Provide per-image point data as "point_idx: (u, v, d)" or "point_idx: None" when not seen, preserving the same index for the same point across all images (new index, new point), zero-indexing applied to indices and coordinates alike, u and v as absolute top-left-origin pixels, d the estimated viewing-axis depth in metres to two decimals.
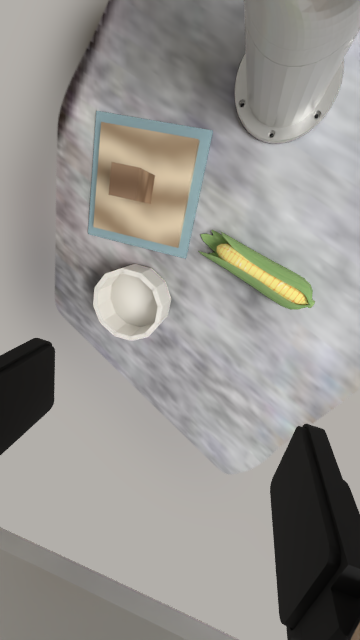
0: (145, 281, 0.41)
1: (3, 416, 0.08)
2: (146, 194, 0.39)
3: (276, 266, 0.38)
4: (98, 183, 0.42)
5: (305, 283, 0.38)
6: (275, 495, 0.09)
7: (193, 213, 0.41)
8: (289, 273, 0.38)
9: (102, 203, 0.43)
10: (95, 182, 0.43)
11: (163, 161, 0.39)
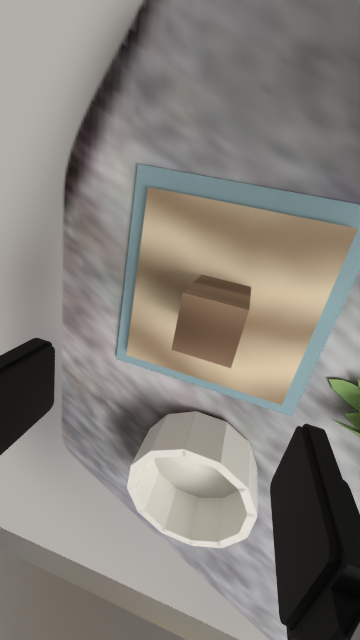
0: (228, 476, 0.22)
1: (3, 416, 0.08)
2: None
3: None
4: (138, 290, 0.23)
5: None
6: (275, 495, 0.09)
7: (317, 351, 0.22)
8: None
9: (145, 321, 0.24)
10: (131, 284, 0.24)
11: (272, 264, 0.20)
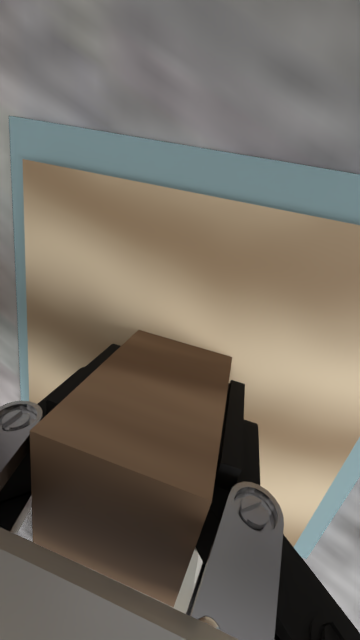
0: None
1: None
2: None
3: None
4: (33, 351, 0.13)
5: None
6: None
7: (357, 467, 0.12)
8: None
9: None
10: None
11: (273, 317, 0.10)
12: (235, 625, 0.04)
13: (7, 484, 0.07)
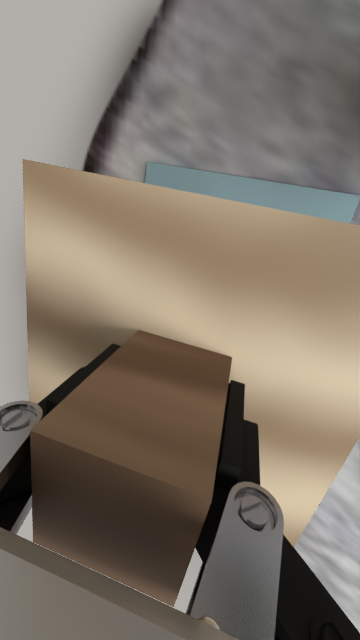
0: None
1: None
2: None
3: None
4: (34, 351, 0.13)
5: None
6: None
7: None
8: None
9: None
10: None
11: (273, 317, 0.10)
12: (235, 625, 0.04)
13: (7, 484, 0.07)
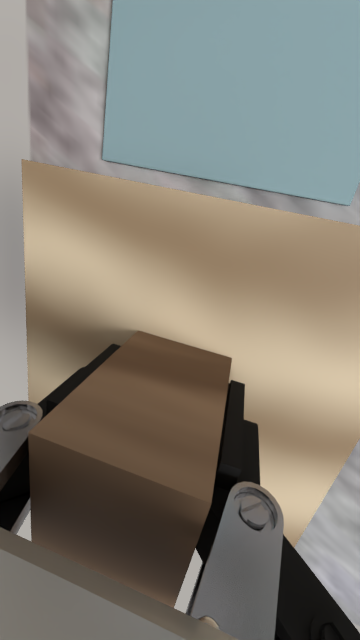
0: None
1: None
2: None
3: None
4: (33, 351, 0.13)
5: None
6: None
7: None
8: None
9: None
10: (122, 13, 0.17)
11: (273, 318, 0.10)
12: (235, 625, 0.04)
13: (7, 484, 0.07)
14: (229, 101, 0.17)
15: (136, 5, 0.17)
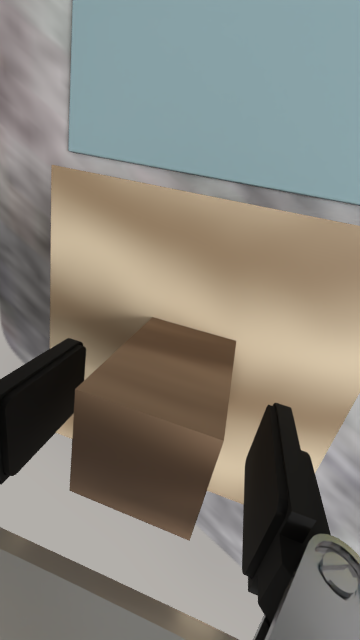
0: None
1: (43, 412, 0.09)
2: None
3: None
4: (55, 337, 0.14)
5: None
6: (247, 469, 0.09)
7: None
8: None
9: None
10: None
11: (273, 304, 0.11)
12: None
13: None
14: (219, 76, 0.14)
15: None
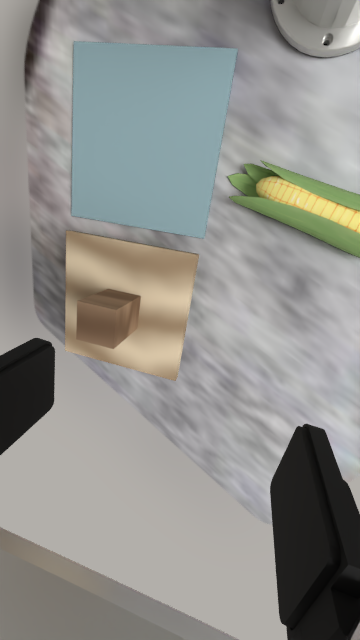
0: None
1: (3, 416, 0.08)
2: (130, 326, 0.28)
3: (353, 195, 0.25)
4: (68, 301, 0.32)
5: None
6: (275, 495, 0.09)
7: (212, 174, 0.30)
8: None
9: (75, 324, 0.33)
10: (77, 143, 0.32)
11: (151, 279, 0.29)
12: None
13: None
14: (135, 186, 0.32)
15: (84, 140, 0.32)
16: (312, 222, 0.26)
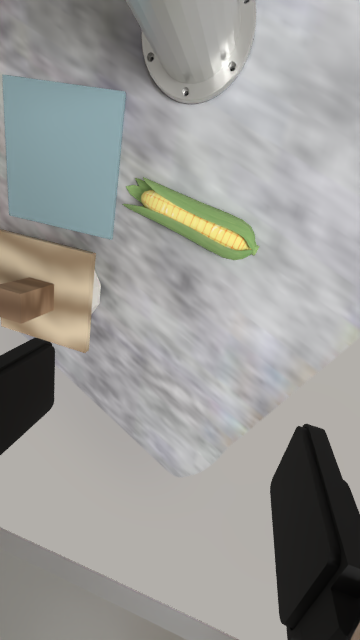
0: None
1: (3, 416, 0.08)
2: (42, 307, 0.36)
3: (208, 208, 0.33)
4: None
5: (244, 225, 0.32)
6: (275, 495, 0.09)
7: (113, 188, 0.37)
8: (224, 215, 0.32)
9: None
10: (10, 156, 0.39)
11: (60, 271, 0.37)
12: None
13: None
14: (57, 194, 0.39)
15: (15, 154, 0.39)
16: (179, 228, 0.34)
